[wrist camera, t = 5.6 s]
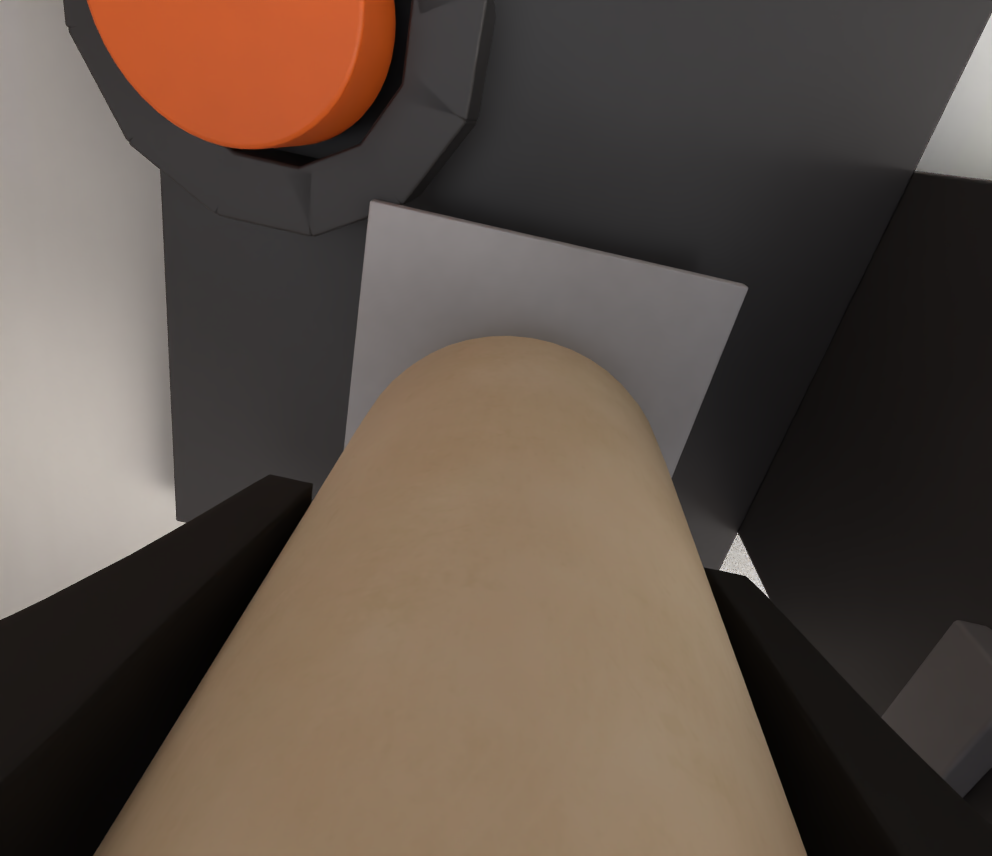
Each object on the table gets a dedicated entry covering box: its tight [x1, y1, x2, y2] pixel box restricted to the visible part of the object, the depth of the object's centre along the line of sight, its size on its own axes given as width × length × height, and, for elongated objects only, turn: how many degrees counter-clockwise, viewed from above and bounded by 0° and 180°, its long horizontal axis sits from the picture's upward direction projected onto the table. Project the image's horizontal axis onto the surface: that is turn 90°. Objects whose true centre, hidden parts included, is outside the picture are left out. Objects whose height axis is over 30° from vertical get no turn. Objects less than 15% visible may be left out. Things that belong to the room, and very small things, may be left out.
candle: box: [93, 336, 807, 856], centre depth 7 cm, size 6×6×10 cm
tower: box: [344, 171, 992, 825], centre depth 10 cm, size 10×15×12 cm
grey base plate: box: [63, 0, 992, 570], centre depth 13 cm, size 16×15×3 cm
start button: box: [87, 0, 396, 149], centre depth 9 cm, size 4×4×2 cm
